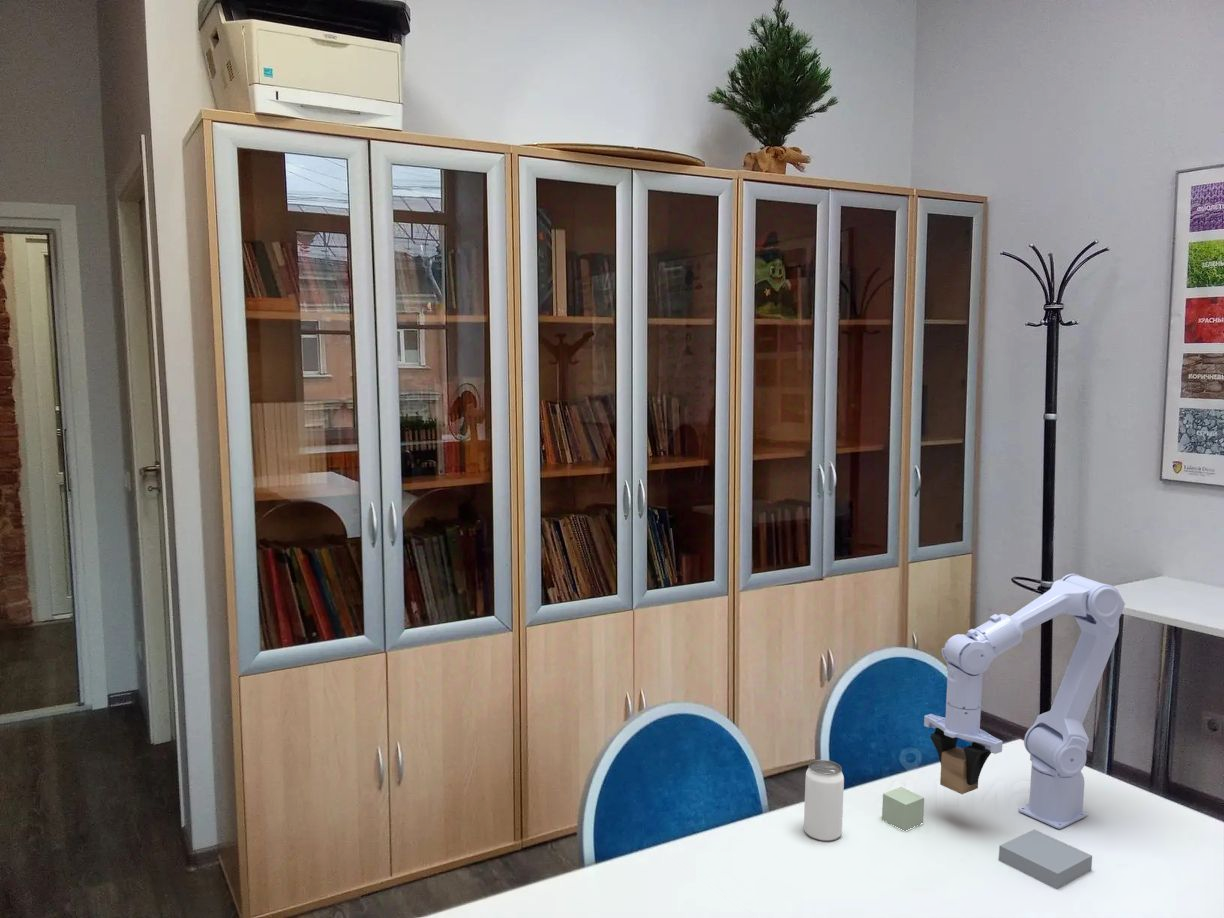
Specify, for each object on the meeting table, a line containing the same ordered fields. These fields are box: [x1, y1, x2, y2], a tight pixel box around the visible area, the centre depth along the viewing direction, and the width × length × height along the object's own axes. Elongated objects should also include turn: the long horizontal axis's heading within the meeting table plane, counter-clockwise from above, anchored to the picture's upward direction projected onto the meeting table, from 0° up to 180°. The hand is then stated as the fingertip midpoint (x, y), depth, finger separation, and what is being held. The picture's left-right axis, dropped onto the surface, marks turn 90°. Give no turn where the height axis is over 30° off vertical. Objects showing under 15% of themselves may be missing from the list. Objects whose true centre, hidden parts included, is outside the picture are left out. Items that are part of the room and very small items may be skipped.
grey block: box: [998, 829, 1093, 890], centre depth 149 cm, size 10×10×3 cm
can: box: [803, 759, 845, 842], centre depth 158 cm, size 6×6×12 cm
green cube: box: [881, 786, 925, 832], centre depth 162 cm, size 5×5×5 cm
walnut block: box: [939, 746, 979, 795], centre depth 161 cm, size 4×4×6 cm
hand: (959, 777), depth 161 cm, fingers closed on walnut block, 4 cm apart
